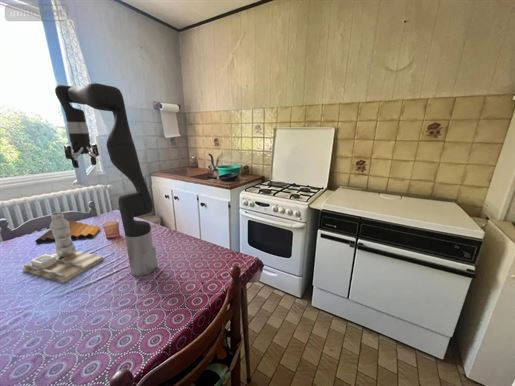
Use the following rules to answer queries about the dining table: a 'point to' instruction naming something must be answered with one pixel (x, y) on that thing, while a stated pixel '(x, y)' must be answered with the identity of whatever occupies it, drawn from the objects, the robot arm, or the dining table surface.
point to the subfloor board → (65, 266)
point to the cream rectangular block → (43, 261)
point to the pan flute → (72, 232)
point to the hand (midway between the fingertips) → (85, 166)
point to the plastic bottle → (62, 235)
